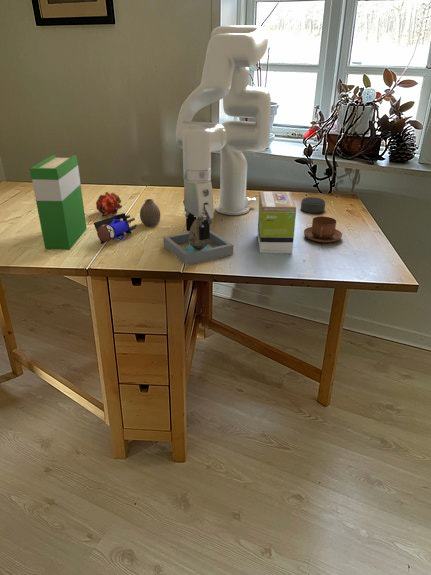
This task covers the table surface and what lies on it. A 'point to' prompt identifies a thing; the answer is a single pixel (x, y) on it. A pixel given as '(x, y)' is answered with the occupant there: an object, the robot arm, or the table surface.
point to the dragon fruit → (108, 204)
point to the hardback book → (59, 201)
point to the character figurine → (114, 227)
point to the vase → (150, 213)
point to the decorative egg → (196, 236)
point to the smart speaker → (313, 205)
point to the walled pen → (193, 255)
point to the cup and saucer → (323, 230)
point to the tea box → (276, 222)
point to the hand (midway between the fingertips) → (197, 234)
